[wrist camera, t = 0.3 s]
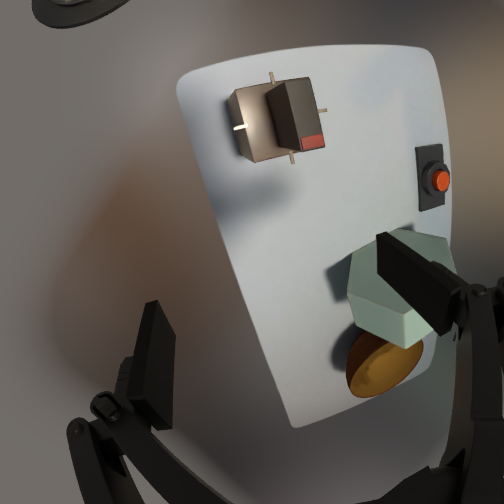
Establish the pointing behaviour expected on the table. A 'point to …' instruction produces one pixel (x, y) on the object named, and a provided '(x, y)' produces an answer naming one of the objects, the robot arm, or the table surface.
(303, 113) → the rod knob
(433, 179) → the button
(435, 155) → the button box
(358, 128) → the table surface
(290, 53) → the table surface
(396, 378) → the bowl
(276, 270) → the table surface
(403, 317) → the sage hexagonal prism
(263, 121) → the pegged wooden cube
